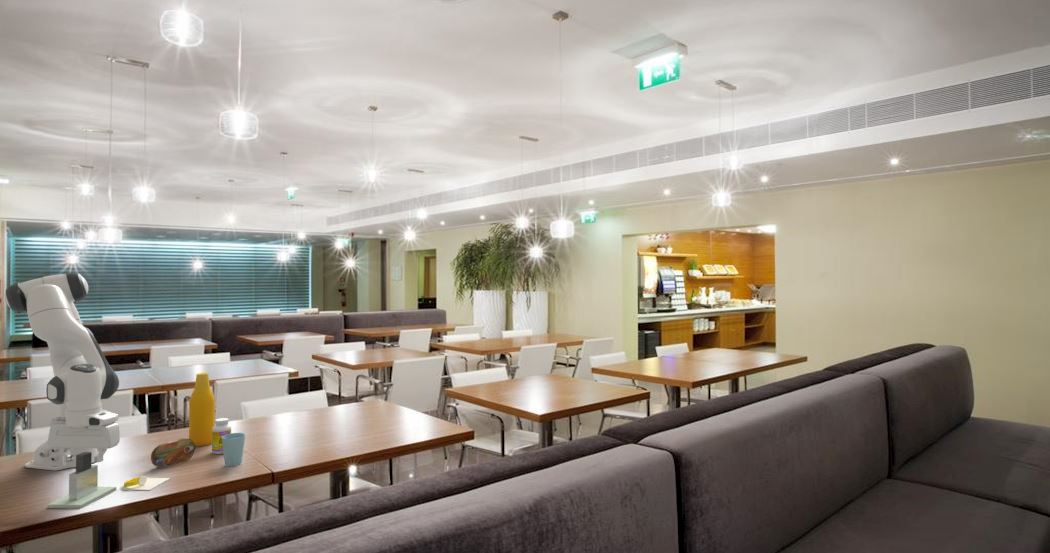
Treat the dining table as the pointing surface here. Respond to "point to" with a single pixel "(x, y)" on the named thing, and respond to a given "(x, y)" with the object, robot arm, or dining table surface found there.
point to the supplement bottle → (219, 434)
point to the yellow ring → (135, 481)
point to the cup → (233, 448)
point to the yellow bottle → (201, 411)
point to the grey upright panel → (83, 477)
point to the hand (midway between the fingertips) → (83, 461)
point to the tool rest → (83, 501)
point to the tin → (172, 453)
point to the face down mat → (148, 484)
